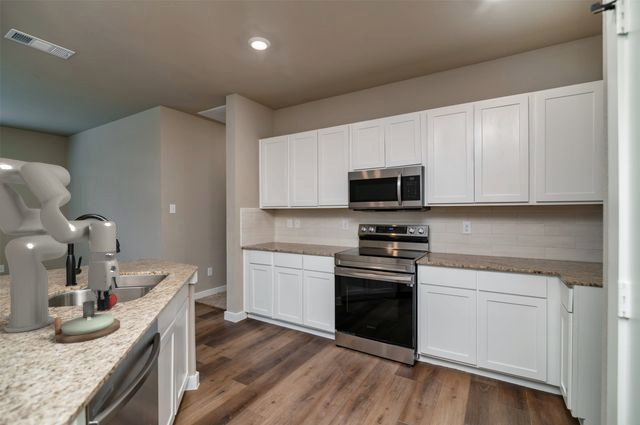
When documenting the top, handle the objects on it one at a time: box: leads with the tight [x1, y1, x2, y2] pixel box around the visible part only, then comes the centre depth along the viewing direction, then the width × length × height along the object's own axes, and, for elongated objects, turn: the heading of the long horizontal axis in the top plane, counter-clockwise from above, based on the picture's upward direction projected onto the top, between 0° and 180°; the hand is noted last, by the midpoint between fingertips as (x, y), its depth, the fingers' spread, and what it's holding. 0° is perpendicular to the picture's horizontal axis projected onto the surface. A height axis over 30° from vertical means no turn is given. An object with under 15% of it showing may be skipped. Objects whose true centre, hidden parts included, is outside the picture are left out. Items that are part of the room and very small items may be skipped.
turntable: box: [61, 300, 115, 335], centre depth 98 cm, size 14×14×7 cm
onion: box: [107, 293, 118, 311], centre depth 121 cm, size 6×6×8 cm
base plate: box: [54, 316, 121, 344], centre depth 98 cm, size 17×17×6 cm
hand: (103, 309), depth 103 cm, fingers closed
